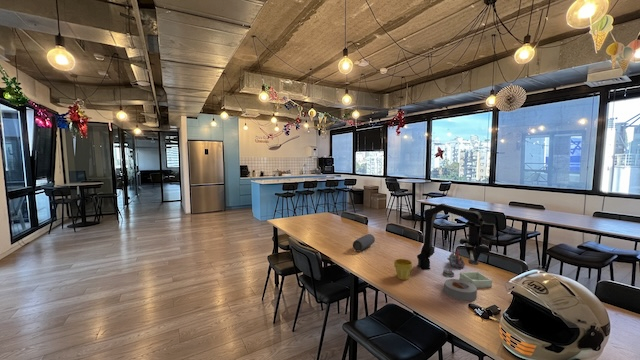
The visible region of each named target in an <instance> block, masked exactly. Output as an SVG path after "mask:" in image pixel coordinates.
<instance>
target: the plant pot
mask: <svg viewBox="0 0 640 360" xmlns="http://www.w3.org/2000/svg"><path fill="white" fill-rule="evenodd" d="M393 263H394V268H395V271H396V277H397V278H398V279H399V280H402V281H404V280H405V281H406V280H409V278H410V273H411V271H412V269H413V261H411V260H409V259H405V258H397V259H395V260H394V262H393Z"/></svg>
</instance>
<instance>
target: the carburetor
mask: <svg viewBox="0 0 640 360" xmlns="http://www.w3.org/2000/svg"><path fill="white" fill-rule="evenodd" d="M447 260H448V261H447V263H448V264H450V265H452V267H453V268H464V267H465V261H464V259H463V258H462V256H460V255H459V249H456V252H450V254H449V257H447Z"/></svg>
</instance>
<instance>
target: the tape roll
mask: <svg viewBox="0 0 640 360" xmlns="http://www.w3.org/2000/svg"><path fill="white" fill-rule="evenodd" d="M443 284H444V286H443V292H444V294H445V295H446V296H447V297H449V298H451V299H454V300H456V301H459V302H465V303H466V302H468V303H469V302H474V301H476V300H477V298H478V295H477V294H478V288H476V286H475V285H473V284H472V283H470V282H467V281H463V280H460V279H458V278H457V279H456V278H449V279H446V280H445V281H444V283H443Z"/></svg>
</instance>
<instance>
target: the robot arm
mask: <svg viewBox="0 0 640 360" xmlns="http://www.w3.org/2000/svg"><path fill="white" fill-rule="evenodd" d="M441 212H446V213H449V214H453V215H455V216H458V217H461V218H463V219H465V220H466V222H465V223H464V225H465V226H468V234H466V237H468V238H460V240H459V244H460V245H463V248H465V250H466V252H467V255H468V257H469V258H470V250H472V253H473V257H474V260H475V261H479V260H478V259H479V258H480V255H481V254H488V253H490V252H491V248H490V247H489V245H490V243H491V240H487V239H485V238H484V237H483V236H488V237H493V238H494V237H496V236H497V235H496V234H497V228H496V224H495V223H487V222H486V221H485V219H483V217H482V214H481V212H479V211H477V210H469V209H468V210H466V209H462V208H459V207H455V206H452V205H447V204H446V203H440V204H438V205H436V206H434V207H432V208H427V209H425V210H424V213H423V215H424V220H425V228H424V229H425V231H424V242H423V245H422V247H421V249H420V250H421V251H420V253H418V254H417V255H416V257H417V264H416V266H417V268H419V270H431V260H430V258H431V257H432V256H433V255H434V254H435V249H436V246H433V244H432V243H433V234H434V223H435V221H436V219H437V215H438V213H441ZM481 234H482V235H481Z"/></svg>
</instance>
